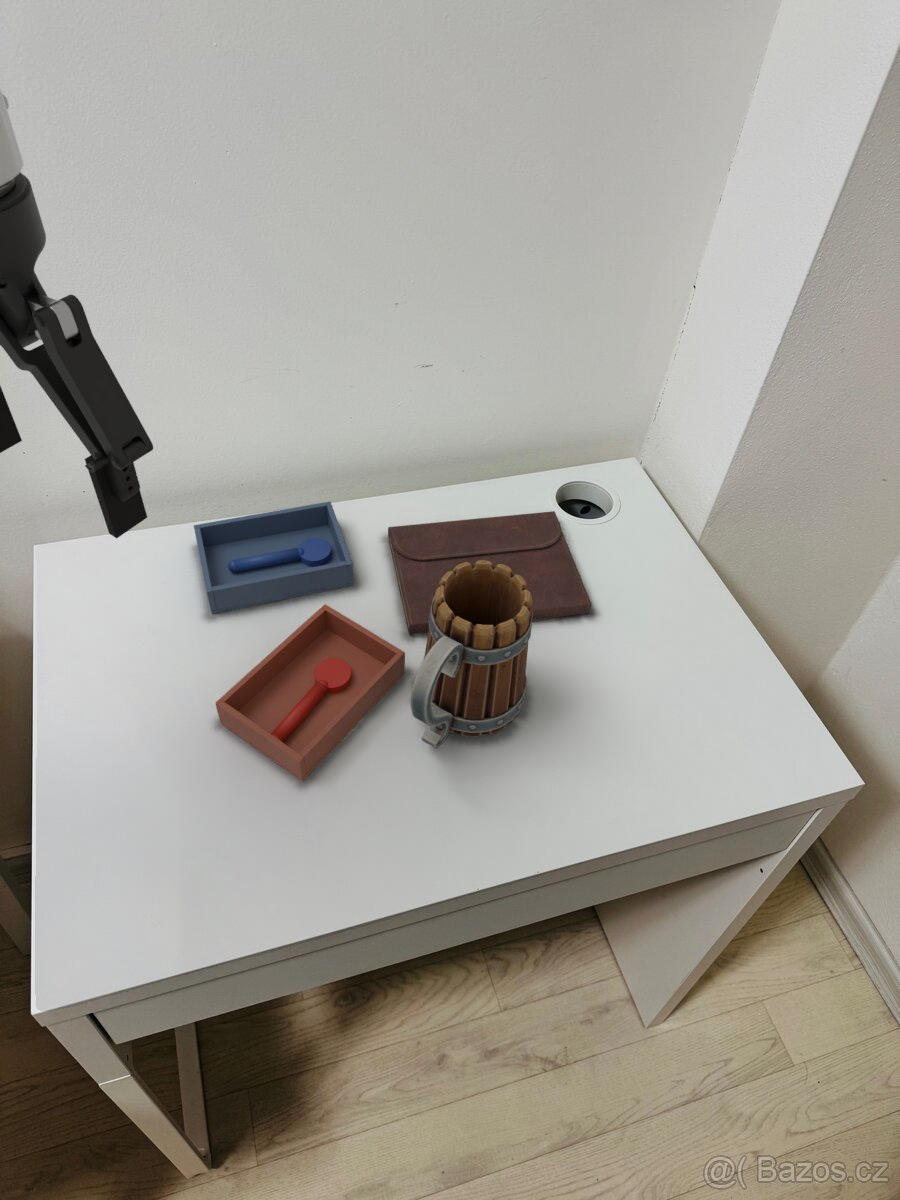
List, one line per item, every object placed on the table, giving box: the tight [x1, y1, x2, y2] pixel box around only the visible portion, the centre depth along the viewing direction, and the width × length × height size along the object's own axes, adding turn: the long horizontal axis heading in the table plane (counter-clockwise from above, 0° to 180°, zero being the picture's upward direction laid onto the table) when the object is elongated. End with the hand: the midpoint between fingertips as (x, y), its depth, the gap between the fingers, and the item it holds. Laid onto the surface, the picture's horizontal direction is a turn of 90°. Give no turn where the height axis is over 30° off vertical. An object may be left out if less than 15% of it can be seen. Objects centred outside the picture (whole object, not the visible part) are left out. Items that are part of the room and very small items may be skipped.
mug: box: [410, 560, 533, 749], centre depth 75 cm, size 16×11×15 cm
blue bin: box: [193, 501, 354, 615], centre depth 91 cm, size 15×10×4 cm
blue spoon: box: [228, 538, 331, 573], centre depth 92 cm, size 11×4×1 cm, turn 109°
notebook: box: [387, 510, 592, 635], centre depth 93 cm, size 15×20×2 cm
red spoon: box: [271, 658, 352, 742], centre depth 79 cm, size 11×4×1 cm, turn 149°
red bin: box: [214, 603, 406, 783], centre depth 80 cm, size 15×10×4 cm
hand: (63, 485), depth 60 cm, fingers open, 13 cm apart
